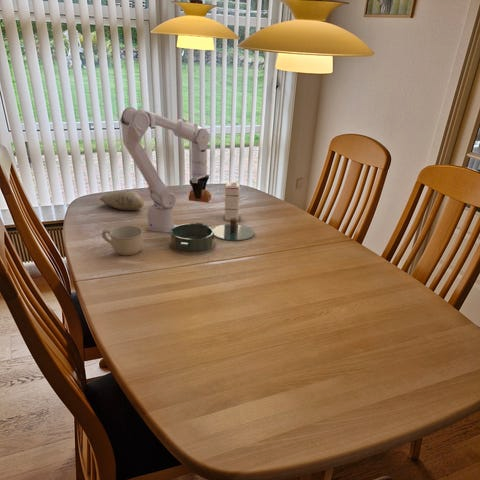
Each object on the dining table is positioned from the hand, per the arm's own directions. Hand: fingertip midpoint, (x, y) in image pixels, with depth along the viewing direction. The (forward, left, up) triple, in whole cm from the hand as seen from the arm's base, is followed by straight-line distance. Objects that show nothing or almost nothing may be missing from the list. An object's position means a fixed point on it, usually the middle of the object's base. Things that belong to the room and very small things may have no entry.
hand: (199, 196), depth 174 cm
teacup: (-17, -36, -11) cm, 41 cm away
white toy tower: (+12, +8, -11) cm, 18 cm away
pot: (+4, -24, -10) cm, 27 cm away
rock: (-35, +7, -11) cm, 37 cm away
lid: (+16, -9, -10) cm, 21 cm away
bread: (0, 0, -1) cm, 1 cm away
